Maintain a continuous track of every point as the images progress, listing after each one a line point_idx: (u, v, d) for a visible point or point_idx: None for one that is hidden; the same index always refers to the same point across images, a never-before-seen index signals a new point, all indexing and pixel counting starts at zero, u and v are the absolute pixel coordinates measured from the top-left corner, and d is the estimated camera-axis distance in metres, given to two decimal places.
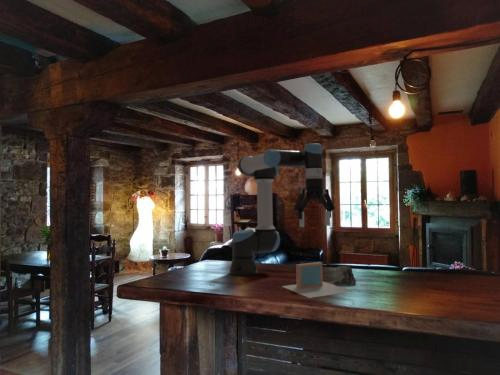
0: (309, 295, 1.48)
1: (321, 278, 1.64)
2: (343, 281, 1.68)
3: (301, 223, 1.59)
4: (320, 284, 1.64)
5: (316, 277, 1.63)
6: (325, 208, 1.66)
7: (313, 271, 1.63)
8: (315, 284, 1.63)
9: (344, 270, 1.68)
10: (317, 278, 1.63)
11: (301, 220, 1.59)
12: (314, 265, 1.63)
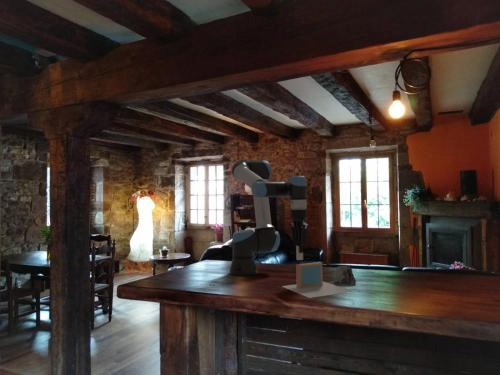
0: (309, 295, 1.48)
1: (321, 278, 1.64)
2: (343, 281, 1.68)
3: None
4: (320, 284, 1.64)
5: (316, 277, 1.63)
6: None
7: (313, 271, 1.63)
8: (315, 284, 1.63)
9: (344, 270, 1.68)
10: (317, 278, 1.63)
11: None
12: (314, 265, 1.63)
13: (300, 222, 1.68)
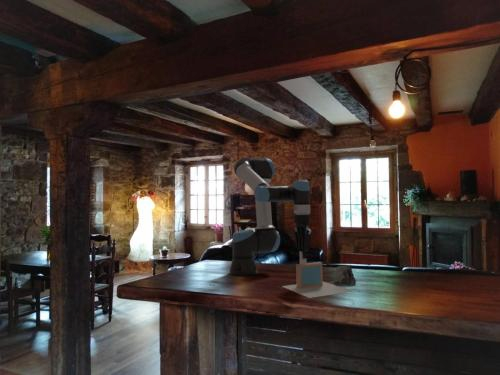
0: (309, 295, 1.48)
1: (321, 278, 1.64)
2: (343, 281, 1.68)
3: None
4: (320, 284, 1.64)
5: (316, 277, 1.63)
6: None
7: (313, 271, 1.63)
8: (315, 284, 1.63)
9: (344, 270, 1.68)
10: (317, 278, 1.63)
11: None
12: (314, 265, 1.63)
13: (304, 227, 1.66)
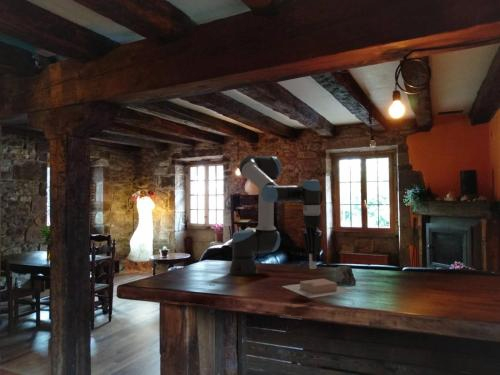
0: (309, 295, 1.48)
1: None
2: (343, 281, 1.68)
3: None
4: None
5: None
6: None
7: None
8: None
9: (344, 269, 1.68)
10: None
11: None
12: (327, 291, 1.54)
13: (314, 229, 1.58)
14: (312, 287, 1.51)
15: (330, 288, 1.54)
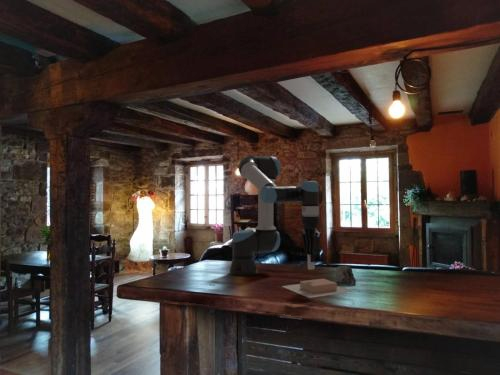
0: (309, 295, 1.48)
1: None
2: (343, 281, 1.68)
3: None
4: None
5: None
6: None
7: None
8: None
9: (344, 270, 1.68)
10: None
11: None
12: (327, 291, 1.54)
13: (312, 230, 1.59)
14: (312, 287, 1.51)
15: (330, 288, 1.54)
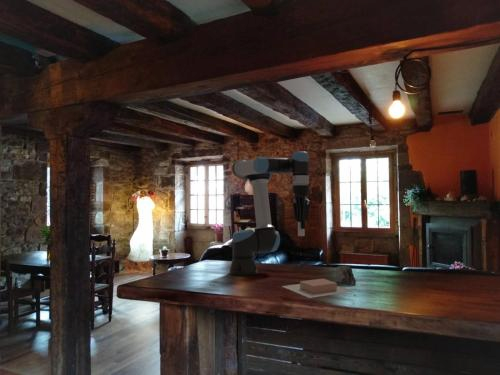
0: (309, 295, 1.48)
1: None
2: (343, 281, 1.68)
3: None
4: None
5: None
6: None
7: None
8: None
9: (344, 270, 1.68)
10: None
11: None
12: (327, 291, 1.54)
13: (302, 198, 1.67)
14: (312, 287, 1.51)
15: (330, 288, 1.54)
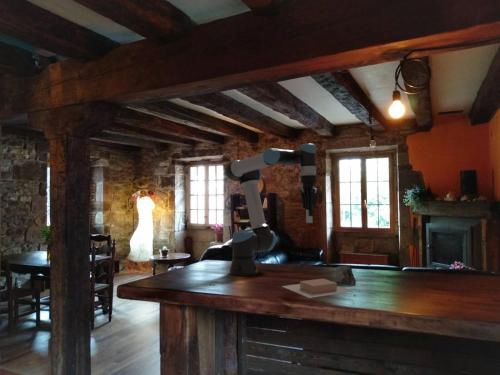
0: (309, 295, 1.48)
1: None
2: (343, 281, 1.68)
3: None
4: None
5: None
6: None
7: None
8: None
9: (344, 270, 1.68)
10: None
11: None
12: (327, 291, 1.54)
13: (310, 187, 1.78)
14: (312, 287, 1.51)
15: (330, 288, 1.54)
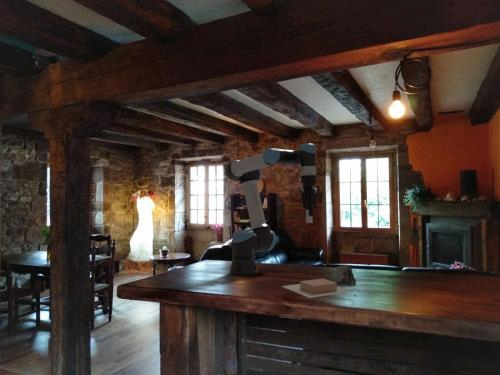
0: (309, 295, 1.48)
1: None
2: (343, 281, 1.68)
3: None
4: None
5: None
6: None
7: None
8: None
9: (344, 270, 1.68)
10: None
11: None
12: (327, 291, 1.54)
13: (310, 187, 1.79)
14: (312, 287, 1.51)
15: (330, 288, 1.54)
